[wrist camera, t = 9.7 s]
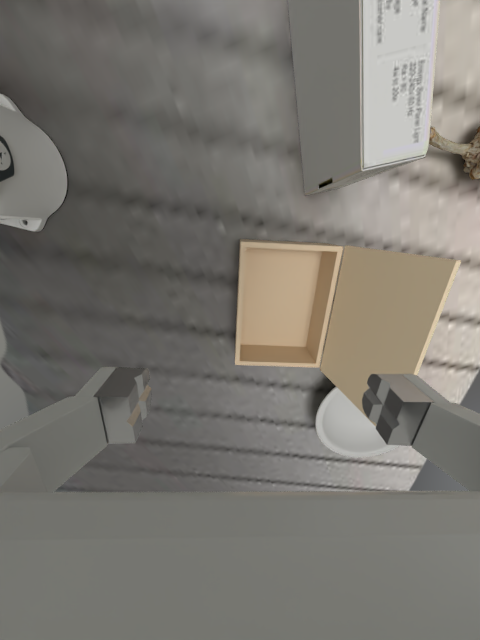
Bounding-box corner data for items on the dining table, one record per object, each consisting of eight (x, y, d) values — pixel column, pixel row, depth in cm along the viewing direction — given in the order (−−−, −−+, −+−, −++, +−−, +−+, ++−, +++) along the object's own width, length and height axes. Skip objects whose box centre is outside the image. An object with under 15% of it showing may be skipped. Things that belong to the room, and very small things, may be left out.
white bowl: (416, 350, 53) (440, 367, 46) (397, 431, 62) (415, 454, 55) (309, 358, 53) (318, 375, 47) (305, 437, 62) (313, 461, 56)
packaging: (339, 188, 40) (428, 156, 22) (304, 196, 41) (361, 171, 22) (329, -84, 29) (490, -617, 11) (280, -70, 30) (355, -563, 11)
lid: (388, 439, 30) (392, 439, 30) (456, 260, 22) (461, 260, 22) (319, 369, 44) (322, 369, 45) (345, 245, 36) (348, 245, 36)
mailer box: (235, 346, 51) (234, 365, 44) (240, 239, 43) (240, 241, 36) (307, 348, 52) (319, 367, 45) (326, 243, 44) (343, 246, 37)
